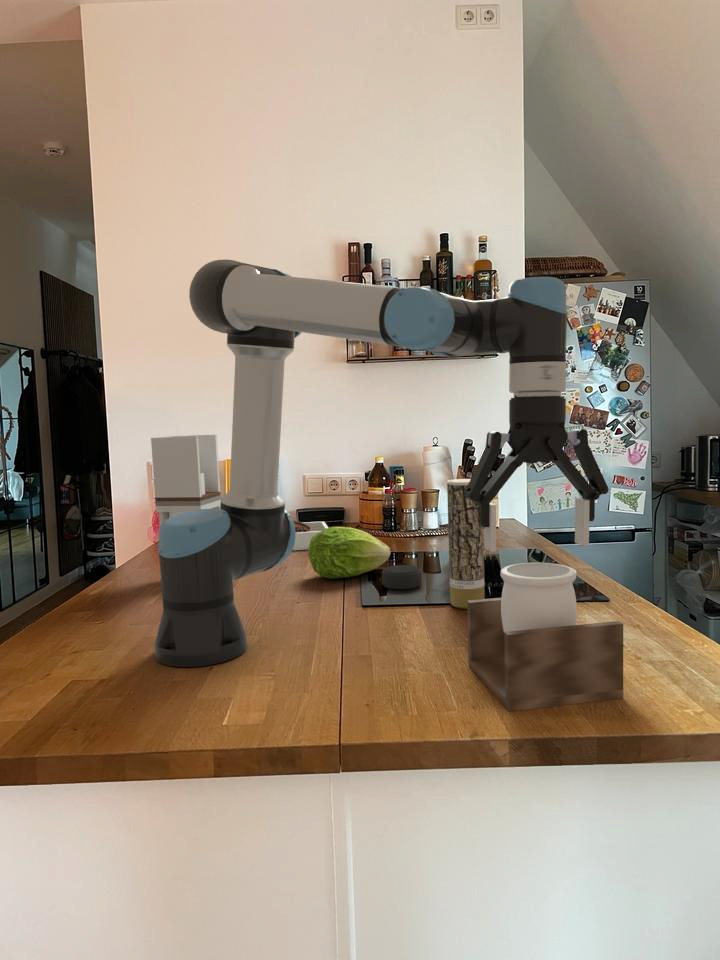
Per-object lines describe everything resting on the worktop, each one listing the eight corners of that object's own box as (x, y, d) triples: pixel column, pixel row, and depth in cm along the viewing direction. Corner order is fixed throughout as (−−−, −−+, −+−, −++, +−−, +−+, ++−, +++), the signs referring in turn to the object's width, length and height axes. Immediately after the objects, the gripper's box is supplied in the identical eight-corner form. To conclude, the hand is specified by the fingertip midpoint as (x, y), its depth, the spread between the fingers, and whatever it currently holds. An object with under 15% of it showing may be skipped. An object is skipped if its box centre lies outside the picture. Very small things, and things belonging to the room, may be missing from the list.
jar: (522, 654, 105) (521, 558, 104) (588, 668, 99) (588, 566, 97) (488, 677, 97) (486, 573, 96) (558, 693, 91) (557, 582, 89)
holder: (509, 711, 89) (507, 634, 88) (468, 665, 105) (467, 600, 104) (623, 698, 91) (623, 623, 90) (566, 655, 107) (566, 592, 106)
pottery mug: (272, 545, 209) (280, 520, 212) (299, 556, 212) (308, 531, 215) (284, 541, 198) (293, 515, 201) (313, 552, 201) (321, 526, 204)
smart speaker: (399, 593, 148) (399, 575, 147) (374, 586, 155) (373, 568, 154) (430, 586, 153) (429, 568, 153) (404, 579, 160) (403, 562, 160)
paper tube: (484, 610, 133) (481, 482, 130) (449, 609, 134) (445, 482, 132) (485, 600, 139) (482, 478, 137) (451, 600, 141) (448, 479, 138)
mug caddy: (276, 551, 197) (275, 534, 196) (273, 540, 215) (272, 524, 214) (331, 547, 199) (330, 530, 199) (324, 536, 217) (323, 521, 217)
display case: (161, 586, 161) (150, 438, 158) (183, 575, 172) (173, 435, 168) (205, 587, 159) (196, 436, 155) (225, 576, 169) (216, 434, 165)
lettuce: (411, 549, 165) (383, 514, 174) (336, 552, 152) (310, 514, 161) (391, 589, 171) (365, 553, 180) (316, 595, 158) (292, 556, 167)
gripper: (457, 396, 88) (459, 558, 91) (636, 392, 92) (633, 547, 95) (441, 397, 96) (443, 546, 98) (607, 393, 100) (605, 537, 102)
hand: (536, 547), depth 96 cm, fingers open, 13 cm apart
